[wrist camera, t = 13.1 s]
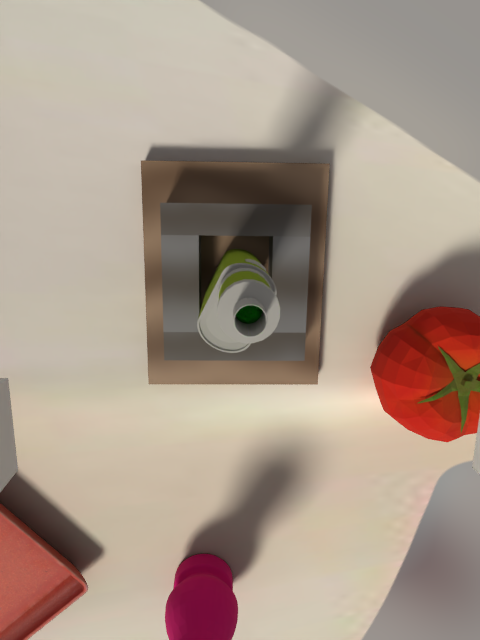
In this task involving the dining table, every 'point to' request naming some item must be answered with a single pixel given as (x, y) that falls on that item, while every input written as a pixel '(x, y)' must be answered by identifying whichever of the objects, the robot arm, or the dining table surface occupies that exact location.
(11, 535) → the plant saucer
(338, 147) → the dining table surface
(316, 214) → the charging dock
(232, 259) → the vape
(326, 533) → the dining table surface
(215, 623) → the pepper mill
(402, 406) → the tomato
